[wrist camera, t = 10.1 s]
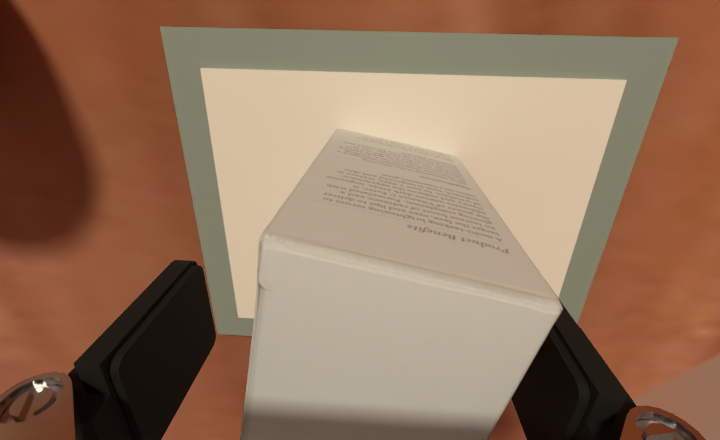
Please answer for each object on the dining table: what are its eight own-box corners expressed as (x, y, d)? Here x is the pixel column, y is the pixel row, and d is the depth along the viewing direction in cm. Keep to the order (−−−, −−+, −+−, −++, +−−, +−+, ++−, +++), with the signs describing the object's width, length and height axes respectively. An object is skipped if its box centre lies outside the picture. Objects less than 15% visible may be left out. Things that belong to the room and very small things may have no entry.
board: (170, 27, 15) (157, 26, 14) (663, 38, 14) (682, 37, 13) (223, 324, 22) (216, 336, 21) (559, 346, 21) (566, 359, 20)
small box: (410, 298, 19) (435, 545, 9) (306, 274, 19) (225, 503, 9) (462, 152, 16) (580, 311, 6) (335, 122, 15) (254, 236, 6)
